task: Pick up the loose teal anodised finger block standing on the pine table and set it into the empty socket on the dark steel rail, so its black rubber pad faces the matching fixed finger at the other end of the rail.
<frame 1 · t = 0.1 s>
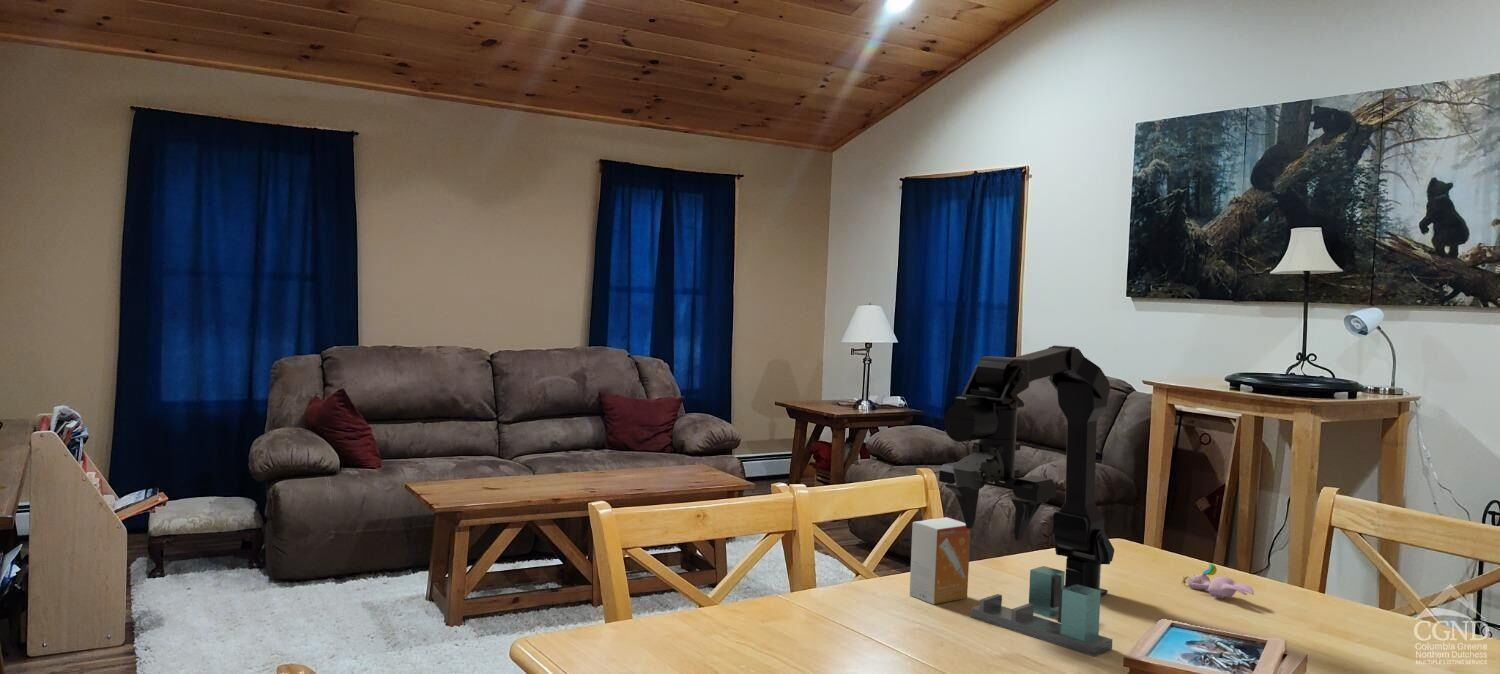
hand: (993, 534, 162), 15 cm above the table, fingers open, 9 cm apart
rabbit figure: (1217, 598, 182), on the table
small box: (938, 598, 176), on the table
rail: (1038, 632, 159), on the table
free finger: (1045, 612, 170), on the table
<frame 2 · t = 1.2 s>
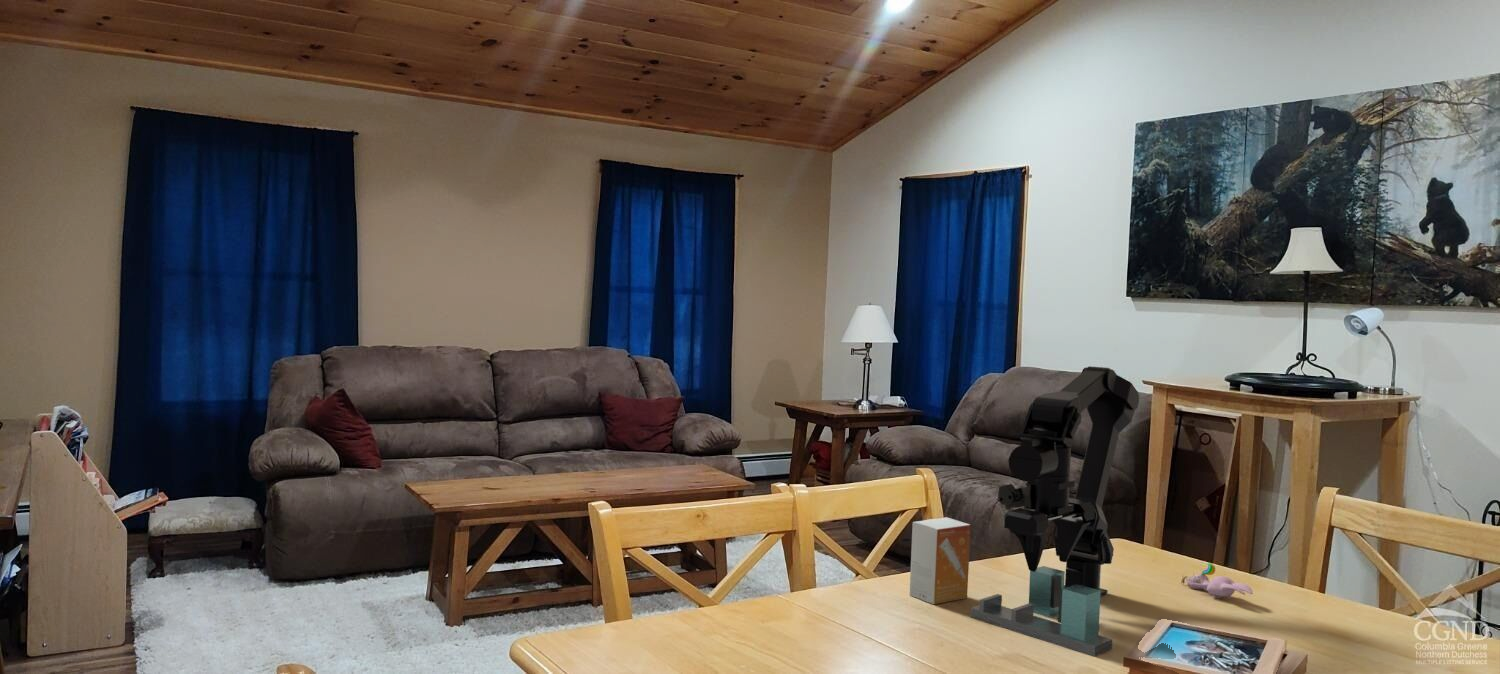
hand: (1047, 566, 170), 8 cm above the table, fingers open, 9 cm apart
nothing on the table moved.
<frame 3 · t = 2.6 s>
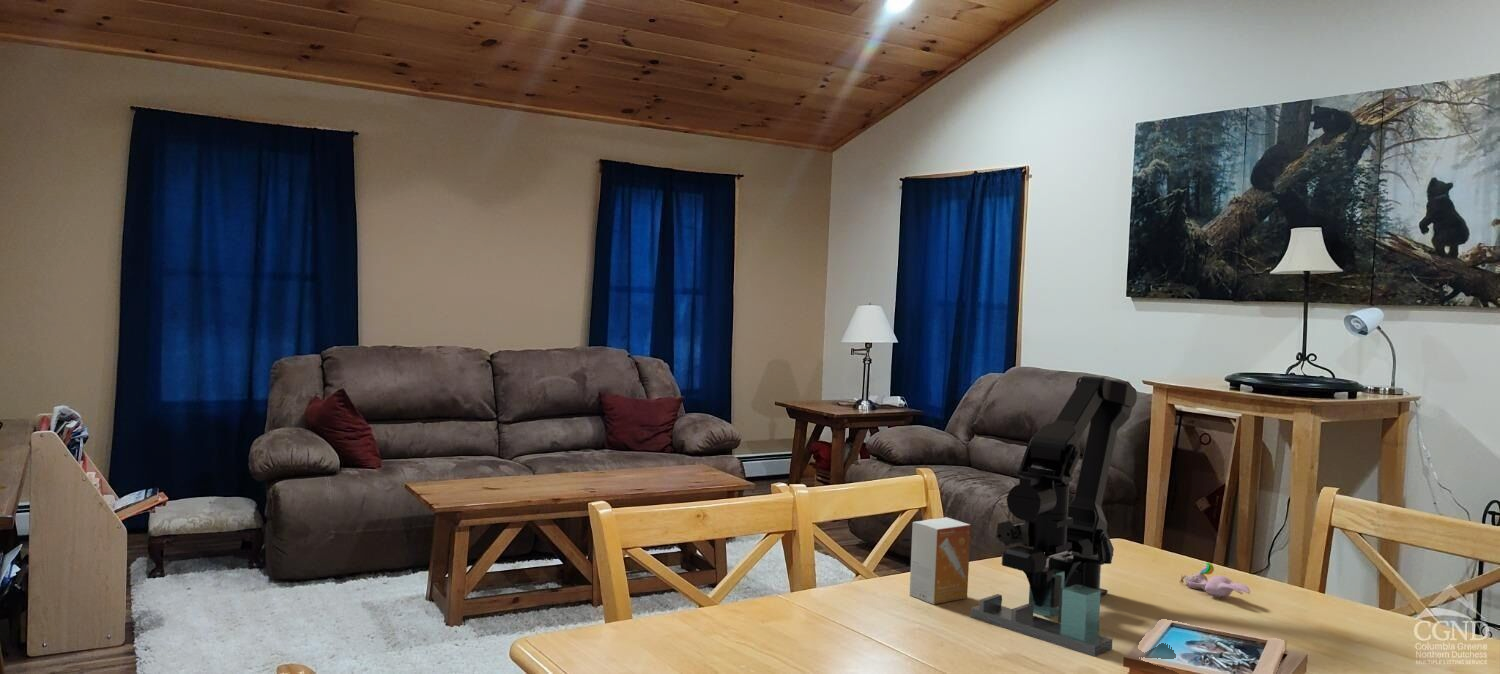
hand: (1046, 603, 170), 1 cm above the table, fingers closed on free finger, 4 cm apart
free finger: (1045, 611, 170), on the table, touching gripper
everything else where it was.
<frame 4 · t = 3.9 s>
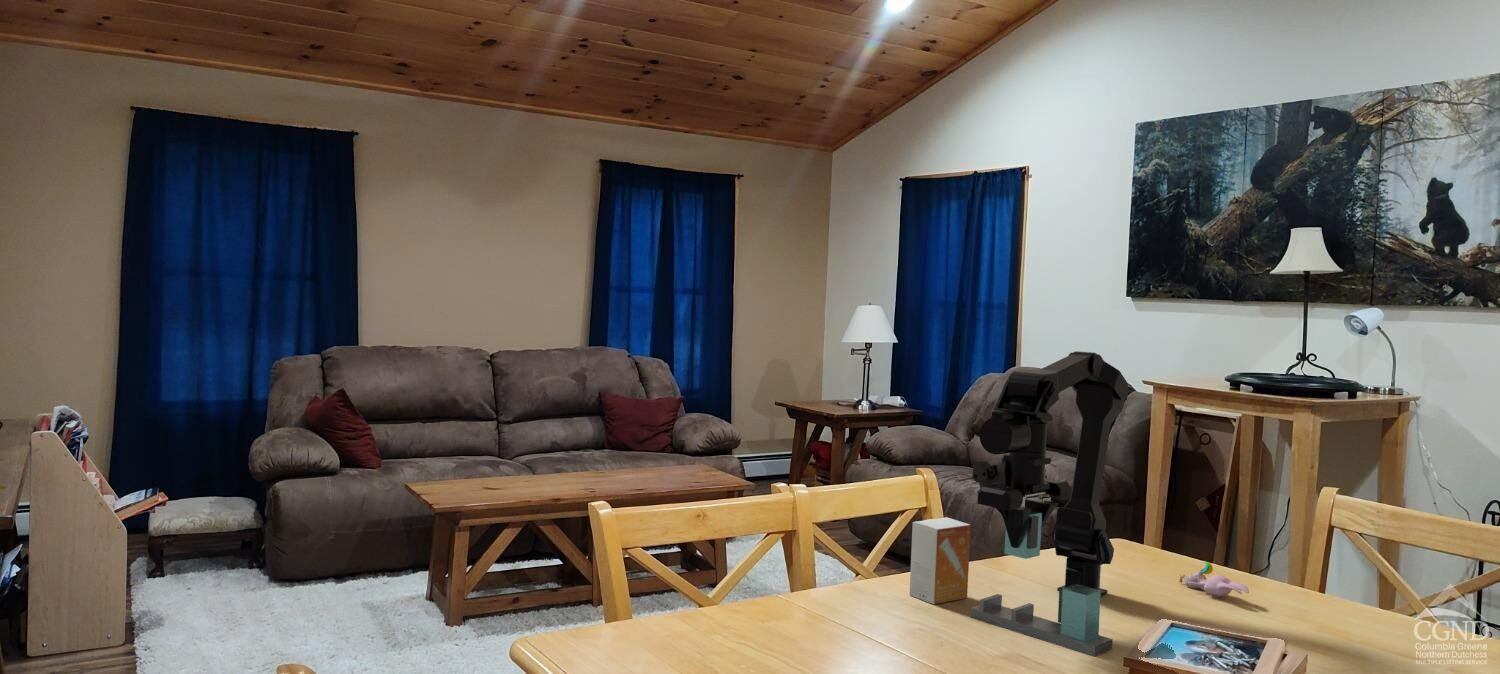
hand: (1022, 545, 165), 12 cm above the table, fingers closed on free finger, 4 cm apart
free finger: (1022, 554, 165), point 11 cm above the table, touching gripper
everything else where it was.
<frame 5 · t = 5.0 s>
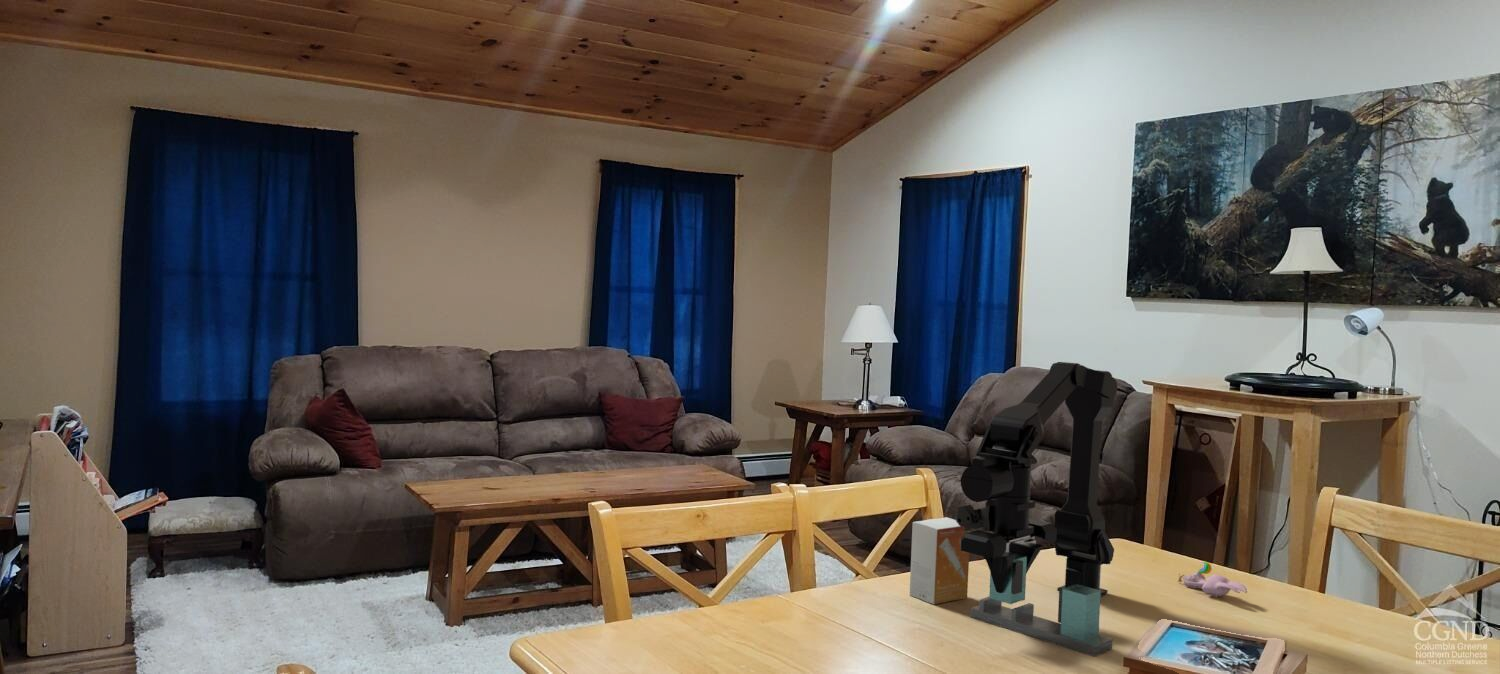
hand: (1007, 590, 164), 5 cm above the table, fingers closed on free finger, 4 cm apart
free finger: (1007, 598, 164), point 4 cm above the table, touching gripper
when the fingers open (4 cm above the table, at t = 5.6 s): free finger stays where it is, resting on rail.
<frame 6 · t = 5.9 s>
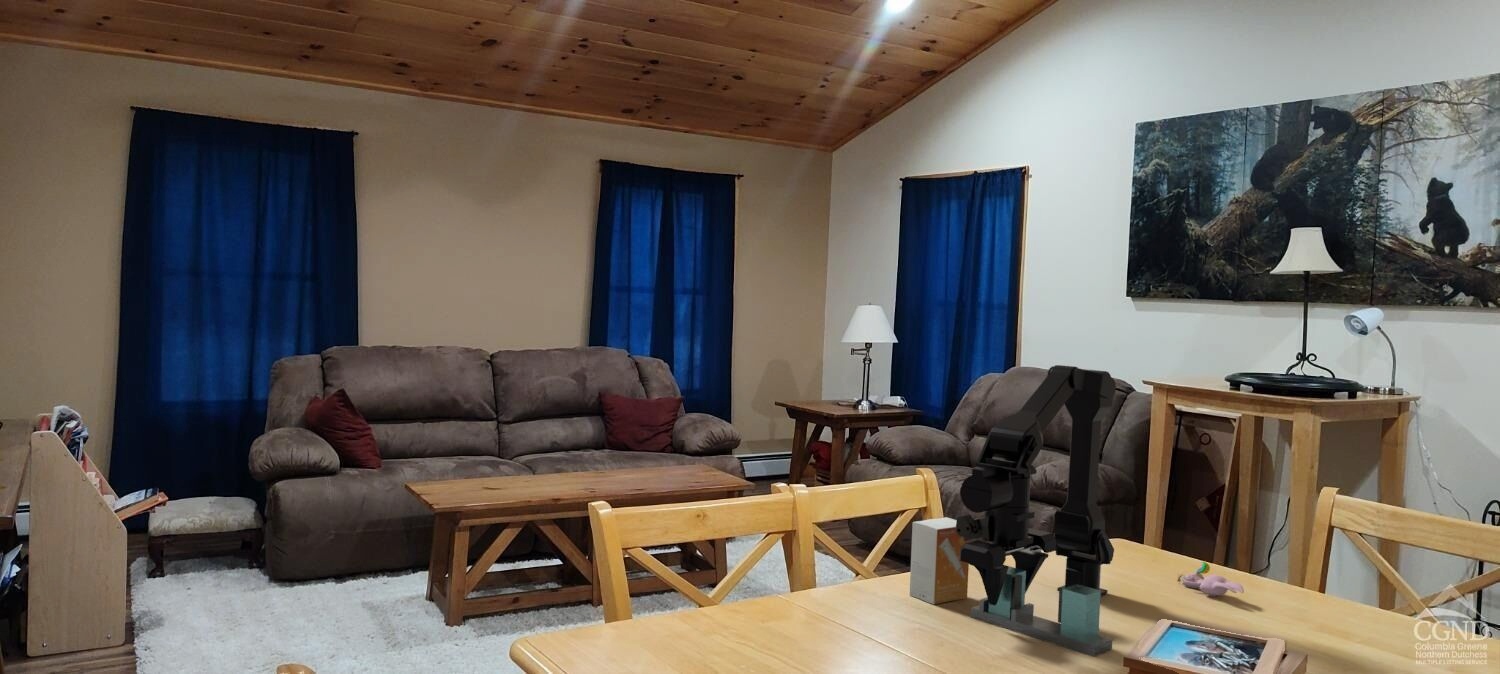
hand: (1006, 600, 164), 4 cm above the table, fingers open, 7 cm apart
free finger: (1006, 612, 164), point 1 cm above the table, touching rail
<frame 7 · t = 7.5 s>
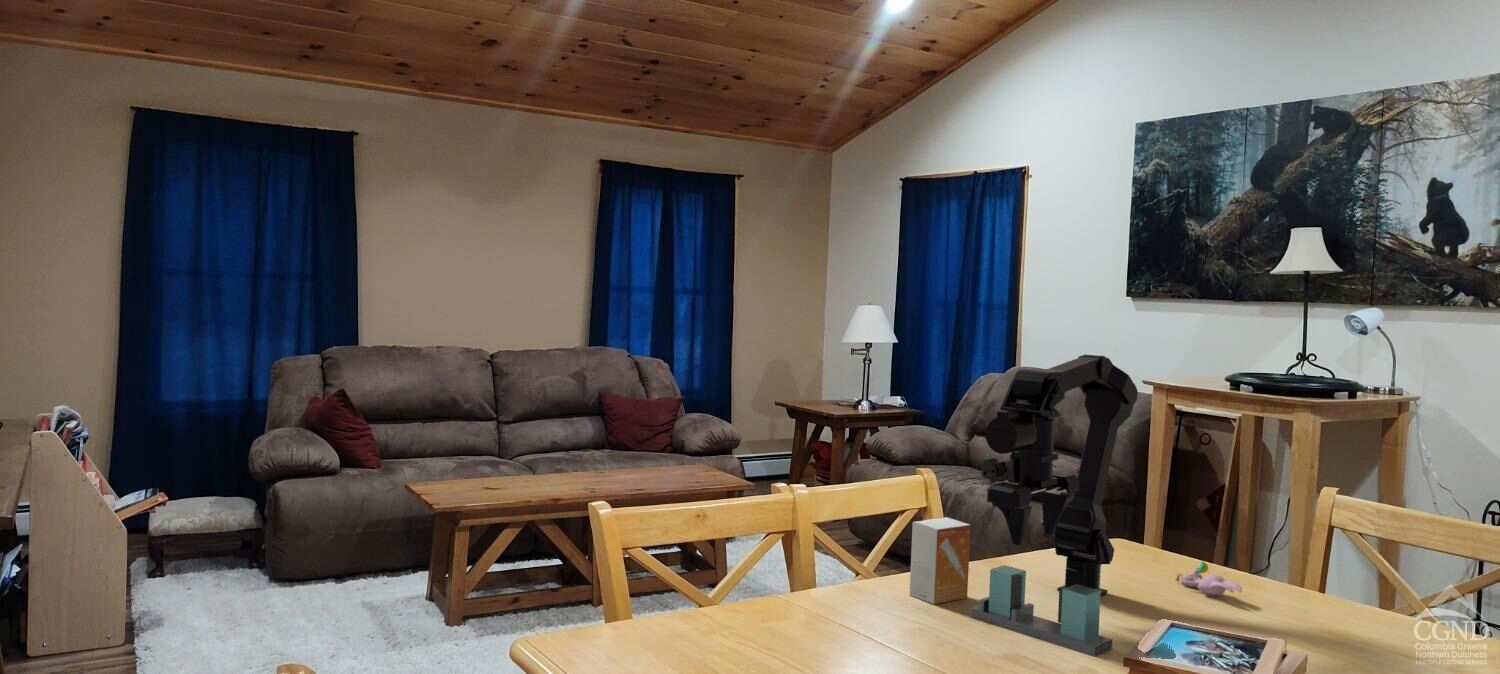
hand: (1032, 539, 169), 12 cm above the table, fingers open, 9 cm apart
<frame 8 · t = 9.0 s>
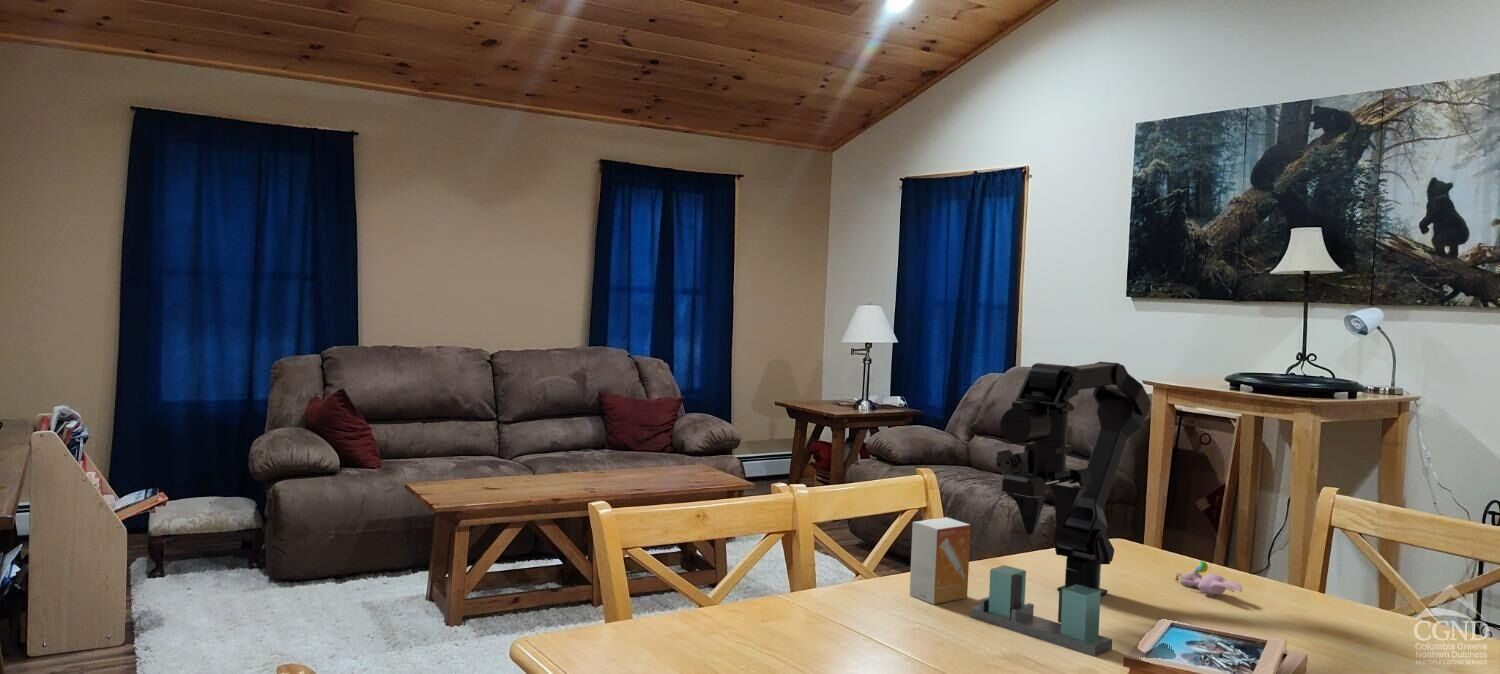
hand: (1045, 530, 172), 13 cm above the table, fingers open, 9 cm apart
at the end: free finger 0.1 cm from the target spot on the rail, point 1.5 cm above the rail's base; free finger tilted 0°; the gripper is holding nothing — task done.
